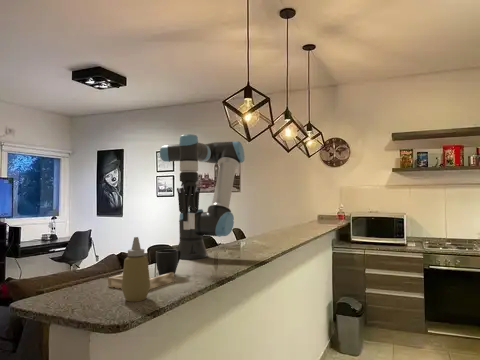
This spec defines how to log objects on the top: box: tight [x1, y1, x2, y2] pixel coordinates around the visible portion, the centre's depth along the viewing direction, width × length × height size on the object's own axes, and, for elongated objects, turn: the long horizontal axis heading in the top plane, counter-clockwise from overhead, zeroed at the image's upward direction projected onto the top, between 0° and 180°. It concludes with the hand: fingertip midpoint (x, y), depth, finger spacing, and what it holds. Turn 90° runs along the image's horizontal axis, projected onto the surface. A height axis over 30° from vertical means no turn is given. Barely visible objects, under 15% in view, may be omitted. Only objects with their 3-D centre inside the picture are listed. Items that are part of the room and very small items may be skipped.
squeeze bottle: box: [121, 236, 150, 303], centre depth 106 cm, size 8×8×18 cm
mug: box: [155, 248, 181, 277], centre depth 138 cm, size 8×12×10 cm
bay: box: [107, 272, 175, 290], centre depth 125 cm, size 16×15×3 cm
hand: (189, 229), depth 149 cm, fingers open, 3 cm apart
